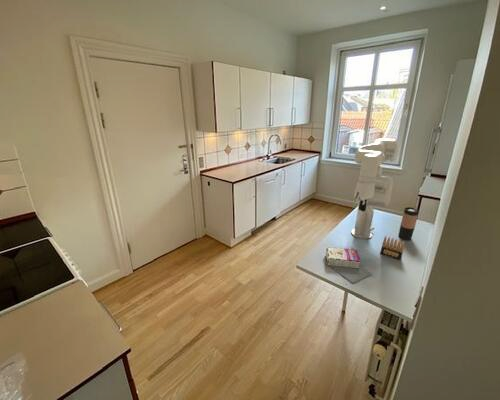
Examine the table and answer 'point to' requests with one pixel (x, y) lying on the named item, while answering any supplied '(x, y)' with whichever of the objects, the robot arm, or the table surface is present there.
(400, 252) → the ammunition clip
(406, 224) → the travel mug
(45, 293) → the table surface
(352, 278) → the mat
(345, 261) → the candy bar box
